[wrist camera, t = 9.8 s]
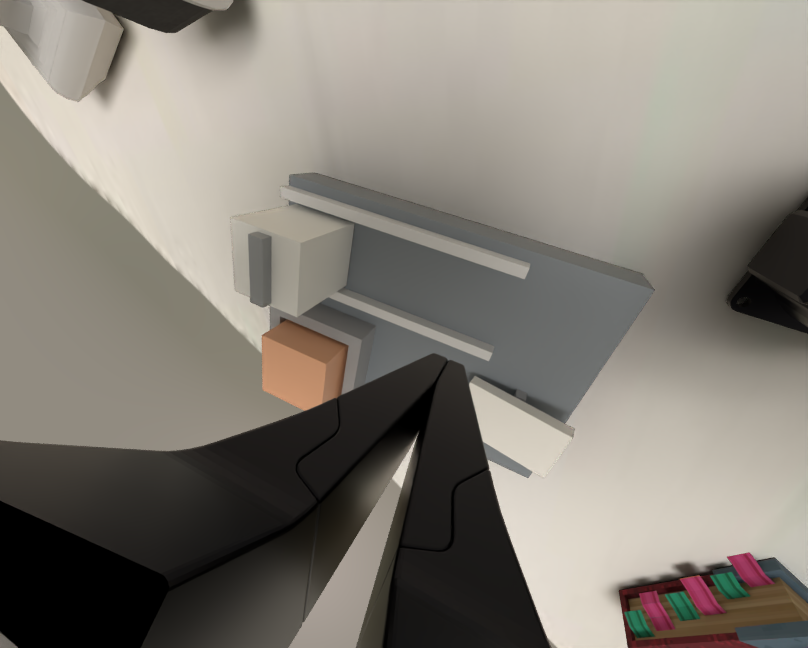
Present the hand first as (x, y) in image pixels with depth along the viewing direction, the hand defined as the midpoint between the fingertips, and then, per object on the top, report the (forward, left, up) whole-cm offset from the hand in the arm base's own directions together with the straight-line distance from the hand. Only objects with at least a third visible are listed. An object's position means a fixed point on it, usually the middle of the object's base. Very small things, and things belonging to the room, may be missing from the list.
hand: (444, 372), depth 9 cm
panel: (+3, +6, -13) cm, 15 cm away
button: (+9, +10, -10) cm, 17 cm away
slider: (+10, +2, -10) cm, 15 cm away
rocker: (-4, +9, -9) cm, 13 cm away
